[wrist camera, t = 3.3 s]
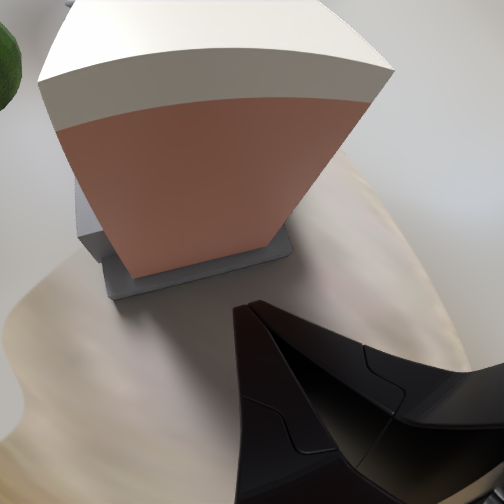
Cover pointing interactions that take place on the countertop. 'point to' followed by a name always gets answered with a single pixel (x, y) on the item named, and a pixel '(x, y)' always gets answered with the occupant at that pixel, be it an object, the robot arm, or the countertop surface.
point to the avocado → (9, 66)
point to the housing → (125, 285)
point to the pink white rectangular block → (202, 117)
